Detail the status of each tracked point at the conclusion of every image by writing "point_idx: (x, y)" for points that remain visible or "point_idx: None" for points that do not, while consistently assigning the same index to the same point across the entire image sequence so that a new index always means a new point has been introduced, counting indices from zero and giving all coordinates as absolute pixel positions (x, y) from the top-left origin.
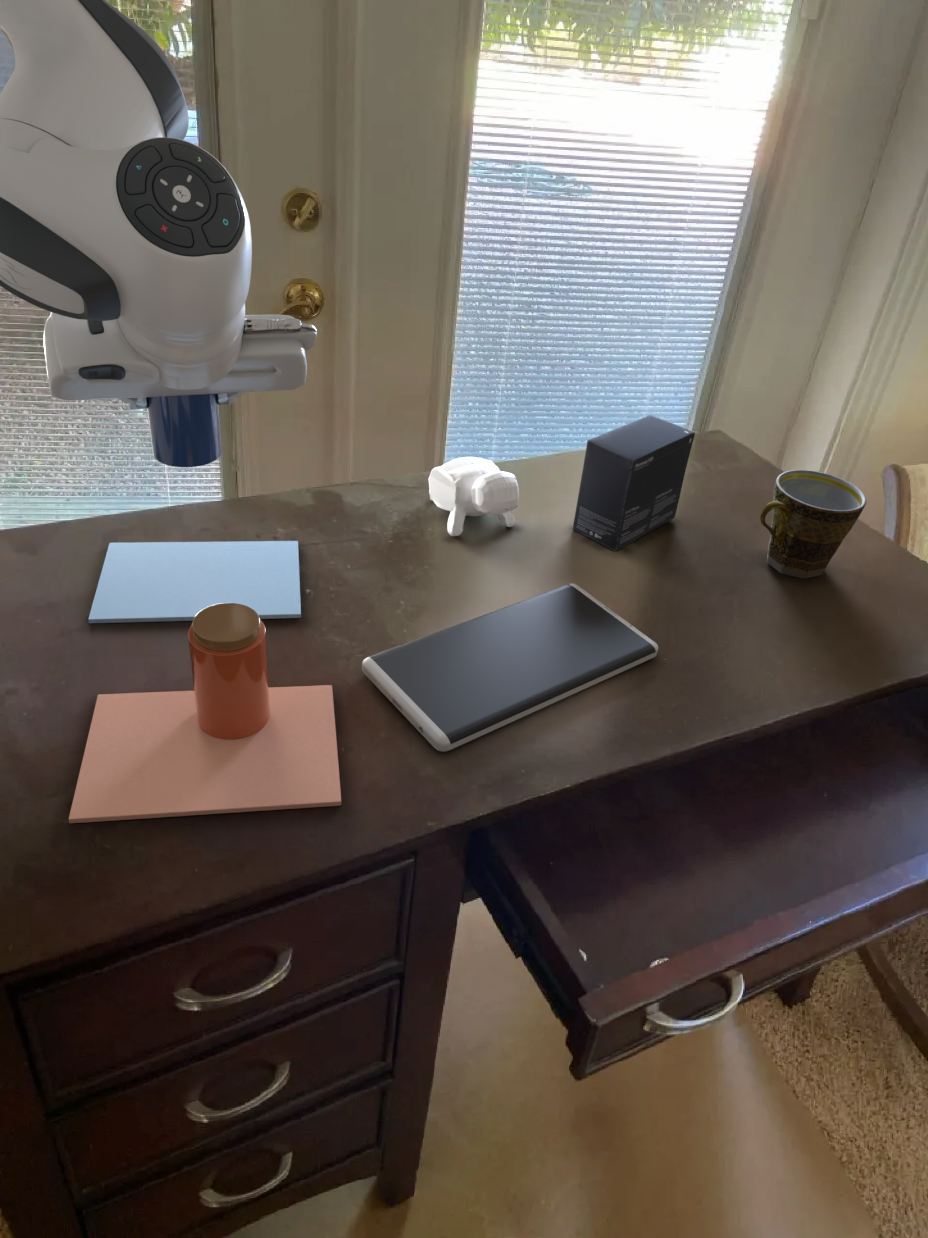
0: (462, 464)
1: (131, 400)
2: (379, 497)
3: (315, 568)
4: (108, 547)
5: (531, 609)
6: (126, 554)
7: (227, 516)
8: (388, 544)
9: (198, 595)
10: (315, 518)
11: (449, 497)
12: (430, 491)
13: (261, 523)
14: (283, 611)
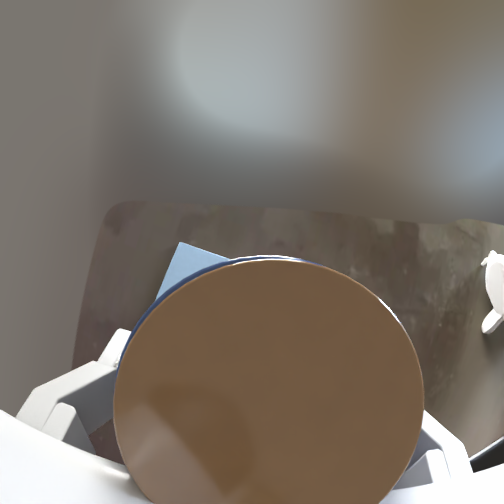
0: None
1: (106, 420)
2: (447, 243)
3: None
4: (176, 250)
5: (483, 466)
6: (188, 270)
7: (307, 226)
8: (437, 329)
9: None
10: (389, 260)
11: (501, 303)
12: (488, 270)
13: (337, 251)
14: None
